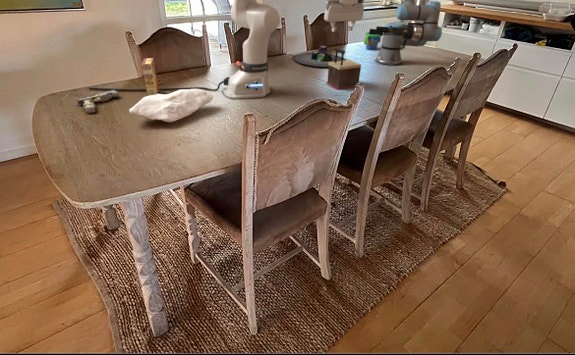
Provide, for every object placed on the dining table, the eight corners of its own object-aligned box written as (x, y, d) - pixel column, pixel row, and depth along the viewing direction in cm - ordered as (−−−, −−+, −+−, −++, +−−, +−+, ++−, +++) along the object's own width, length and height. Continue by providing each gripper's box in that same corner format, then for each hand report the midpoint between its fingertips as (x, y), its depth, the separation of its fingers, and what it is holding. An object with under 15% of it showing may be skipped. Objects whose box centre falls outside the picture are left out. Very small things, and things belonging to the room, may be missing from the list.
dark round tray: (359, 62, 224) (361, 47, 219) (315, 70, 207) (315, 53, 202) (323, 53, 249) (324, 39, 244) (281, 59, 231) (281, 44, 227)
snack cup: (373, 45, 267) (376, 31, 261) (384, 49, 259) (386, 34, 254) (358, 48, 259) (360, 32, 254) (368, 51, 252) (370, 35, 246)
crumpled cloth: (117, 110, 146) (113, 90, 140) (195, 92, 166) (194, 73, 160) (143, 139, 134) (140, 118, 128) (223, 116, 154) (224, 96, 148)
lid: (339, 69, 177) (341, 51, 173) (328, 64, 184) (329, 47, 180) (360, 67, 183) (363, 49, 178) (349, 62, 190) (351, 44, 185)
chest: (337, 89, 183) (339, 69, 177) (327, 83, 190) (328, 64, 184) (358, 86, 188) (360, 67, 183) (347, 80, 195) (349, 62, 190)
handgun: (128, 97, 156) (111, 87, 164) (86, 107, 144) (70, 97, 152) (129, 103, 157) (113, 94, 165) (88, 114, 146) (72, 103, 154)
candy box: (157, 97, 164) (152, 63, 155) (147, 98, 163) (141, 63, 155) (158, 91, 171) (153, 57, 163) (149, 91, 170) (143, 58, 162)
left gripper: (330, 0, 159) (327, 33, 166) (367, -1, 167) (362, 30, 175) (322, -2, 163) (320, 31, 171) (358, -3, 172) (354, 28, 179)
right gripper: (419, 38, 185) (378, 36, 184) (402, 41, 209) (366, 39, 208) (421, 22, 183) (380, 20, 182) (404, 27, 207) (367, 25, 206)
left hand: (342, 30), depth 173 cm, fingers open, 8 cm apart
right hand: (372, 30), depth 195 cm, fingers open, 13 cm apart
